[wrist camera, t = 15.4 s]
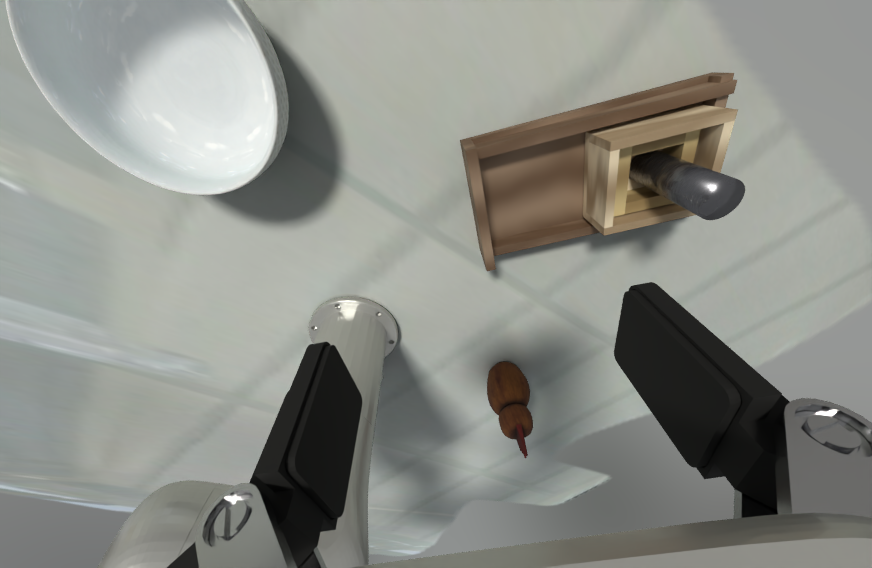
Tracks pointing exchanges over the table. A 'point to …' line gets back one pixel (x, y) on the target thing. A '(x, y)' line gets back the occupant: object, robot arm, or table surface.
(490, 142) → the tray
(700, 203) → the handle peg
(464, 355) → the table surface
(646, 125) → the crate
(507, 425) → the wooden figurine
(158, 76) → the cereal bowl
